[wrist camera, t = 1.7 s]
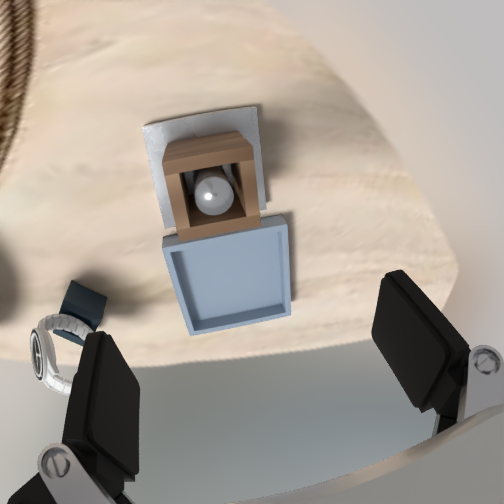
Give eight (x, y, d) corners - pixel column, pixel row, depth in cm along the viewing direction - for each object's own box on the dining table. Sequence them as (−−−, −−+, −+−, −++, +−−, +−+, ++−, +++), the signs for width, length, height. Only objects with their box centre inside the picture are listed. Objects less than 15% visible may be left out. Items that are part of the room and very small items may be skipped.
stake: (144, 125, 23) (127, 143, 16) (253, 105, 24) (279, 116, 17) (165, 222, 27) (161, 270, 21) (263, 203, 28) (287, 245, 22)
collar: (167, 143, 23) (161, 162, 18) (237, 130, 23) (252, 145, 18) (180, 206, 26) (179, 241, 21) (245, 194, 26) (261, 226, 21)
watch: (55, 272, 28) (20, 351, 18) (121, 303, 31) (109, 388, 22) (44, 307, 29) (16, 383, 20) (105, 334, 33) (93, 414, 24)
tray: (163, 237, 28) (161, 248, 26) (281, 214, 29) (287, 223, 28) (189, 323, 34) (190, 336, 33) (286, 303, 35) (291, 314, 34)
